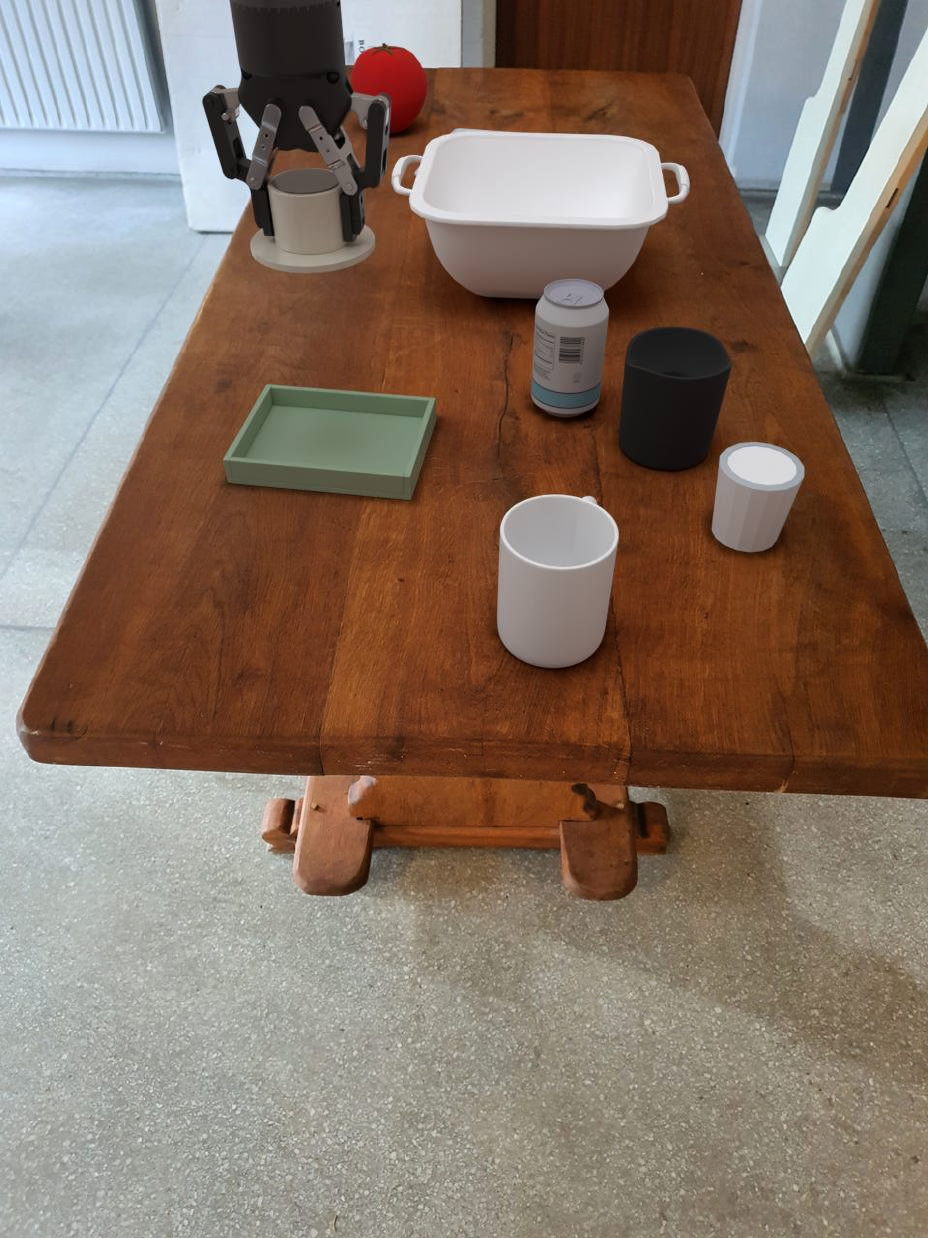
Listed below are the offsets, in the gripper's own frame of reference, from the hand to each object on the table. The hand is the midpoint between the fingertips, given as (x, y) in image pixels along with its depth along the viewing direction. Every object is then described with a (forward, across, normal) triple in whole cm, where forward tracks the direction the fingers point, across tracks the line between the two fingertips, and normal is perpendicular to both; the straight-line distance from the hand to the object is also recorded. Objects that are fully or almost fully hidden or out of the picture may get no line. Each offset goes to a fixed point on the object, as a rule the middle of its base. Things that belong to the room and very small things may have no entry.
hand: (312, 234), depth 76 cm
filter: (+1, 0, 0) cm, 1 cm away
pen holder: (+21, +31, +6) cm, 38 cm away
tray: (+21, 0, 0) cm, 21 cm away
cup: (+21, +23, -19) cm, 37 cm away
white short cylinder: (+21, +38, -6) cm, 44 cm away
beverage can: (+21, +21, +12) cm, 32 cm away
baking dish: (+21, +15, +41) cm, 48 cm away
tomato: (+21, -14, +92) cm, 95 cm away
